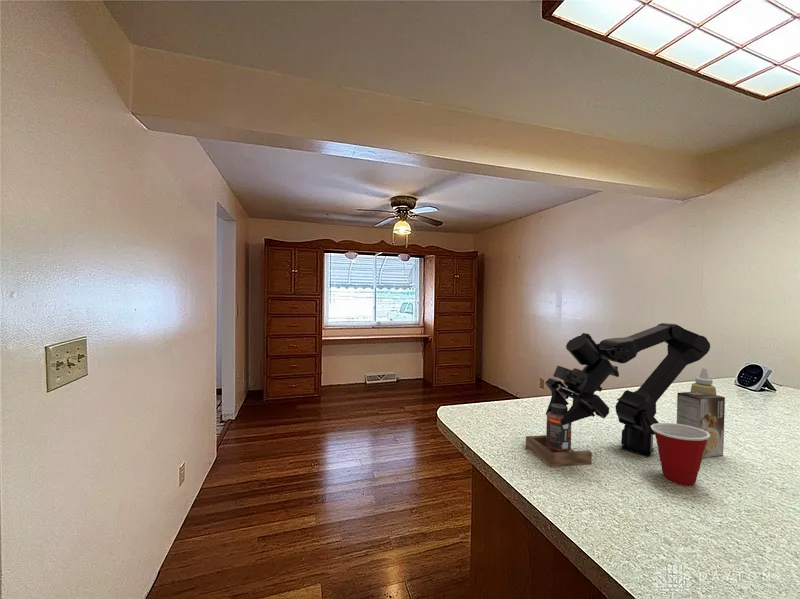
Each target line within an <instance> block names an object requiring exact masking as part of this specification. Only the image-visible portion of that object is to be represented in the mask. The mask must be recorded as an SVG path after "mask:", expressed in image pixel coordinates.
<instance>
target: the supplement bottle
mask: <svg viewBox="0 0 800 599" xmlns="http://www.w3.org/2000/svg"><path fill="white" fill-rule="evenodd" d="M551 410H552V411H550V412H548V413H547V415H546V432H545V433H546V434H545V435H546V445H547V447H548V448H550V449H551V450H554V451H557V452H568V451H570V449H572V448H571V447H572V422H571V423H569V424H566V425H562V424H561V423H560V421H561V420H562V418H563V417H564V415H565V414H566V413H567V412H568V410H569V408H568V405H563V404H551Z"/></svg>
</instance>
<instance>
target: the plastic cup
mask: <svg viewBox="0 0 800 599" xmlns="http://www.w3.org/2000/svg"><path fill="white" fill-rule="evenodd" d="M651 428H652V430H653V431H654V434H655V435H654V436H655V439H656V445H657V450H658V456H659V461H660V465H661V466H660V467H661V472H662V475H663V478H664V479H666V480H667V481H668V482H671V483H673V484H676V485H678V486H682V487H693V486H694V485H695V483H696V482H697V478H698V474H699V472H700V469H701V465H702V459H703V458H702V457H703V453H704V449H705V447H706V443H707V440H708V439H709V437H710V434H709V433H708V432H706V431H704V430H702V429H699V428H696V427H692V426H687V425H682V424H677V423H673V422H659V423H657V424H653V425H651Z"/></svg>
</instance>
